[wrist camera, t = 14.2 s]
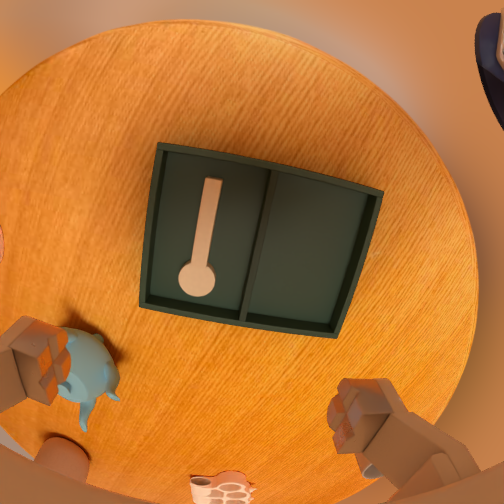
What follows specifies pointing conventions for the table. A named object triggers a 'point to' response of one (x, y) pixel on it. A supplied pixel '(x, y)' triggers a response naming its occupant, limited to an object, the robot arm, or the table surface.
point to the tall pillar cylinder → (1, 245)
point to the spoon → (202, 243)
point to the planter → (64, 458)
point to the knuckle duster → (221, 489)
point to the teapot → (88, 372)
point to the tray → (257, 241)
